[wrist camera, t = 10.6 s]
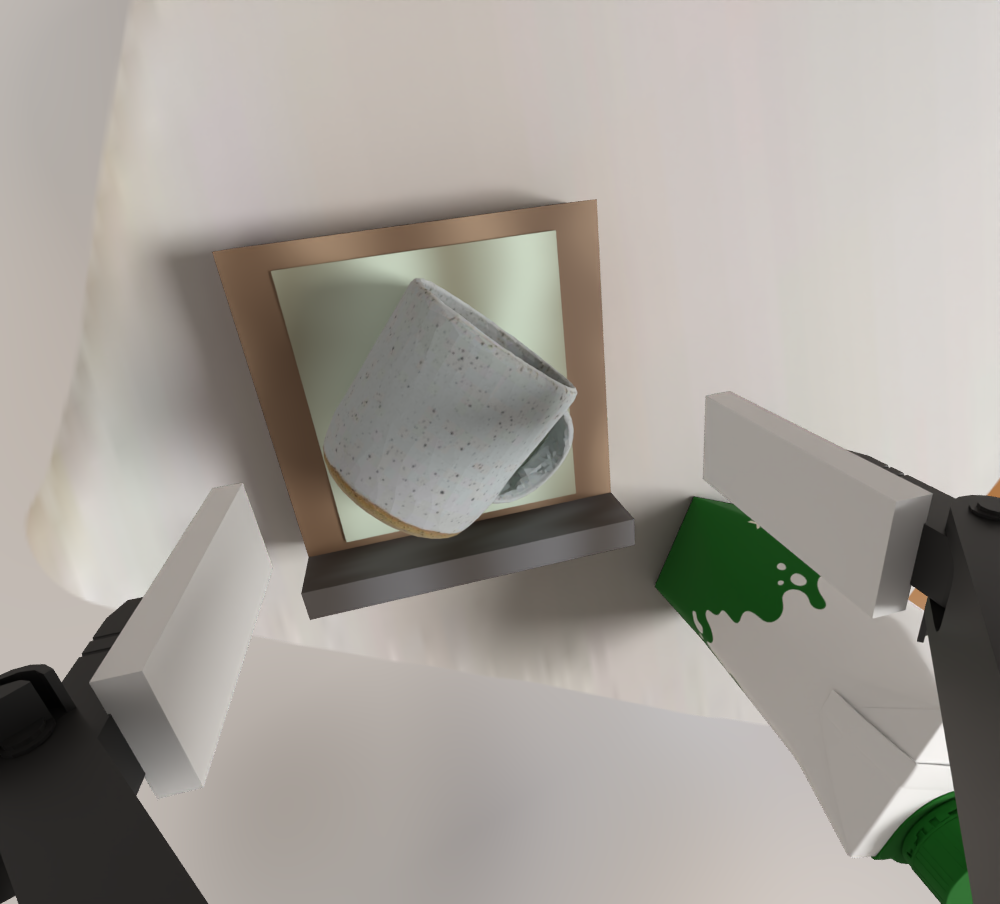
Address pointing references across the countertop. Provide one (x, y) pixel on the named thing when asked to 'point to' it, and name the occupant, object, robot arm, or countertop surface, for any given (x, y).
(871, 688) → the milk carton
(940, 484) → the countertop surface
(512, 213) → the step
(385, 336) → the ceramic mug
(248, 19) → the countertop surface
